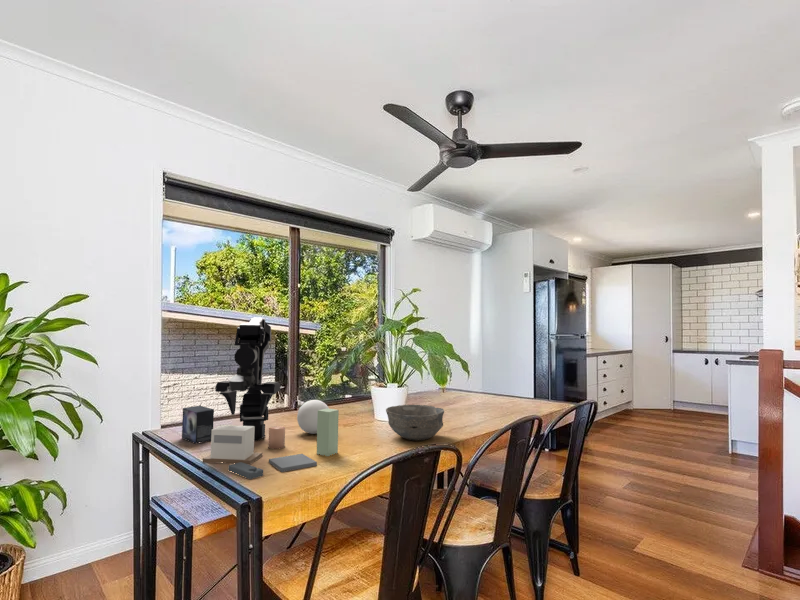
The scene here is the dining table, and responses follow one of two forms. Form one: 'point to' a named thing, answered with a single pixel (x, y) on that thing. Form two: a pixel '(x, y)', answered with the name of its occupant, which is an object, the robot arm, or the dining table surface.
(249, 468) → the bracket
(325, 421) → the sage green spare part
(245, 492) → the dining table surface
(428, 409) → the bowl
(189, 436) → the small box
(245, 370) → the robot arm
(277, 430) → the peach rounded cylinder
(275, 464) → the slate grey pad
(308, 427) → the decorative ball
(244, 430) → the mounted unit
